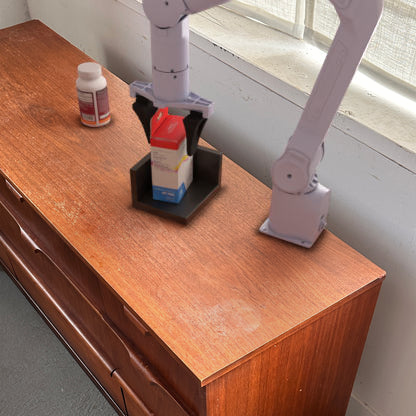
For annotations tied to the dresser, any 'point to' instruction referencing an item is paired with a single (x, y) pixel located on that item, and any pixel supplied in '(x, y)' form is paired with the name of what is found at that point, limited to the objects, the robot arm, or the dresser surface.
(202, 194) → the box
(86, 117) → the pill bottle
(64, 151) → the dresser surface
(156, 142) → the ink box
